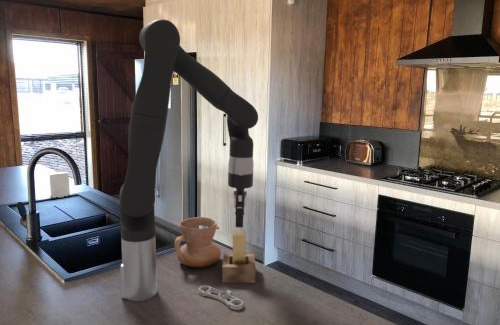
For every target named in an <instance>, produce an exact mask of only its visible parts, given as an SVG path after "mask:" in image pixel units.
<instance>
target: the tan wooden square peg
mask: <svg viewBox="0 0 500 325" xmlns="http://www.w3.org/2000/svg"><path fill="white" fill-rule="evenodd" d="M246 245H247V232H246V230H232V254H233V264H245V260H246V254H247V253H246V251H247V250H246V249H247V246H246Z"/></svg>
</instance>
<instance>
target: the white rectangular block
mask: <svg viewBox="0 0 500 325" xmlns="http://www.w3.org/2000/svg"><path fill="white" fill-rule="evenodd" d="M69 175H70V174H69V171H62V172H61V171H59V172H52V173H49V186H50V197H51V196H54V197H53V198H56V197H58V198H65V197H64V196H66V197H68V196H67V195H69V194H70V193H71V192H70V191H71V190H70V178H69V177H70V176H69ZM70 195H71V194H70ZM70 195H69V196H70Z"/></svg>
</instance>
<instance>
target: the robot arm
mask: <svg viewBox="0 0 500 325" xmlns="http://www.w3.org/2000/svg"><path fill="white" fill-rule="evenodd" d="M138 38H139V44H140V47H141V48H142V50H143V52H144V58H143V61H144V62H143V68H142V76H141V78H140V82H139V84H138V87H137V90H136V92H135V96H134V98H133V101H132V106H131V110H130V117H129V125H128V126H129V127H128V163H127V170H126V174H125V177H124V178H125V179H124V183H123V184H122V185H121V187H120V190H119V208H120V209H119V212H120V215H119V216H120V239H121V241H120V243H121V260H122V261H121V264H120V266H119V270H120V272H119V273H120V297H121V299H126V300H128V301H132V302H140V301H141V302H142V301H146V300H150V299H152V298H153V297H155V296H156V295H157V294H158V283H157V281H158V279H157V278H158V277H157V274H158V273H157V246H156V245H157V243H156V242H157V241H156V240H157V239H156V236H157V235H156V221H155V220H156V217H155V202H156V179H157V169H158V164H159V159H160V156H161V151H162V146H163V143H164V139H165V138H164V136H165V132H166V127H167V119H168V112H169V103H170V97H171V96H170V95H171V83H172V77H173V72H174V73H175V74H177V75H178V76H180V77H181V78H182V79H183V80H184V82H185V81H186V83H187V84H188V85H189V86H191V87H192V88H193V89H194V90H195V92H197V93H198V94H200V96H202V97H203V99H205V100H206V101H207V102H208V103H209V104H210V105H212V107H214V108H215V109H217V110H219V111H221V112H223V113H224V114H226V126H227V131H228V138H229V160H228V166H227V167H228V171H227V173H228V174H227V176H228V177H227V185H228V187H229V188H231V189H232V188H233V189H236V190H234V191H233V209H235V212H234V215H235V227H236V228H243V227H244V216H245V209H246V208H247V207H246V204H247V202H246V201H247V198H248V196H247V195H248V194H247V193H248V192H247V190H245V189H250V188H252V187H254V186H253V184H254V140H253V138H252V137H251V136H250V132H249V129H252V128H254V127H255V126H256V125H257V124H258V121H259V114H258V111H257V110H256V108H255V106H254V105H253V104H251V103H250V102H249V101H247V100H246V99H245V98H243V97H242V96H241V95H240V94H238V93H237V92H235V91H233V90H232V88H231V87H230V86H229V85H227V83H226V82H224V80H223V79H221V78H220V77H219V76H218V75H217V74H215V73H214V72H213V71H212V70H210V69H209V68H208V67H206V66H204V65H203V64H201V63H200V62H199V61H197V60H196V59H195V58H193V57H192V56H191V55H190V54H189V53H188V52H187V51H186V50H184V48H183V47H182V46H181V36H180V32H179V30H178V27H177V26H176V25H175V24H174V23H173V22H172V21H170V20H167V19H164V18H161V19H156V20H153V21H150V22H149V23H147V24H146V25H144V26H143V28H142V29H141V30H140V33H139V37H138Z"/></svg>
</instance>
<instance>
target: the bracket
mask: <svg viewBox="0 0 500 325" xmlns="http://www.w3.org/2000/svg"><path fill="white" fill-rule="evenodd" d="M198 294H200V295H201V296H202V297H205V296H206V297H209V298H212V299H215V300H218V301H220V302H221V303H223V304H225V305H226V306H227V308H228V309H232V310H235V311H239V310H242V309H243V308H244V301H243V300H242V299H239V297H238V298H237V297H235V296H233V295H232V294H233V293H232V291H231V290H229V289H227V290H222V291H221V290H219V289H217V288H214V287H212V286H210V285H201V286H199V287H198ZM228 300H229V301H228Z"/></svg>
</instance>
